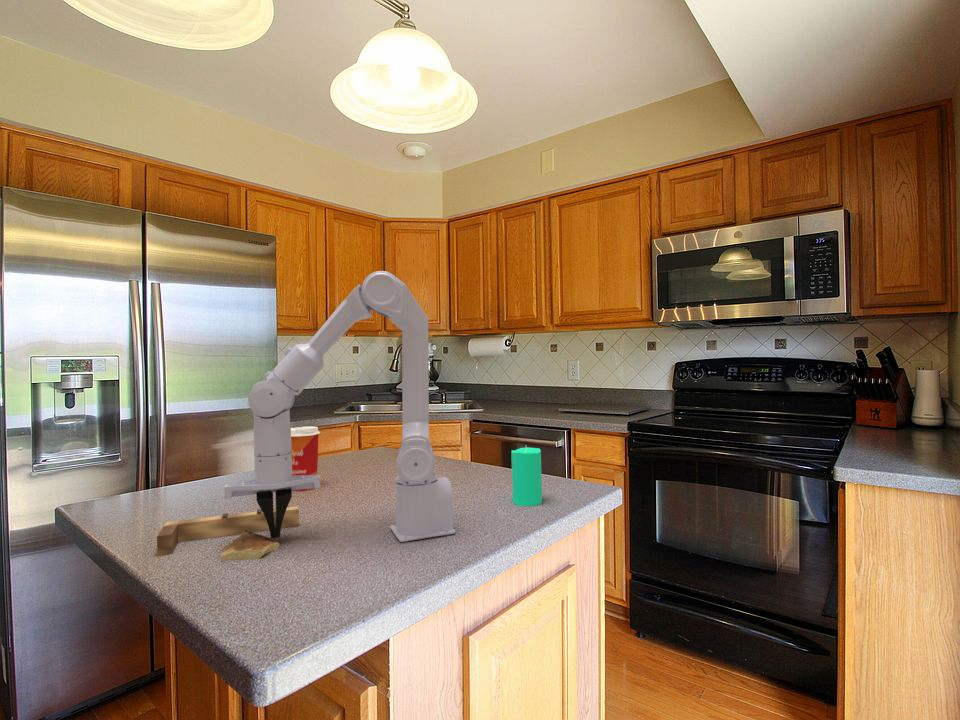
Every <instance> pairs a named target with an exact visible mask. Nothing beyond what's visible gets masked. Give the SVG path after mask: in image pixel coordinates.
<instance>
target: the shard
mask: <svg viewBox="0 0 960 720" xmlns="http://www.w3.org/2000/svg"><path fill="white" fill-rule="evenodd" d="M279 547H280V542H279V541H276V540H274V539H273V538H269V537H267V536H264V535H261V534H258V533H255V532H249V531H246V530H245V531H244V533H242V534H239V536H238V537H237V538H235V539H234V540H233V541H232V542H231V543H230V544H229V545H227V547H225V549H224V550H223V551H222V552H221V553H220V559H221V561H223V562H224V561H233V560H234V561H235V560H252V559H253V560H256V559H258V560H259V559H261V558H262V557H263V556H264V555H266V554H268V553H270V552H272V551H275V550H278V549H279Z"/></svg>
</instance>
